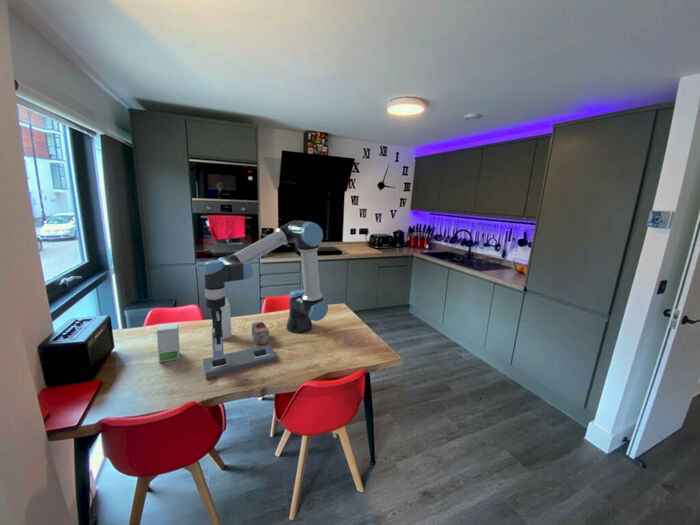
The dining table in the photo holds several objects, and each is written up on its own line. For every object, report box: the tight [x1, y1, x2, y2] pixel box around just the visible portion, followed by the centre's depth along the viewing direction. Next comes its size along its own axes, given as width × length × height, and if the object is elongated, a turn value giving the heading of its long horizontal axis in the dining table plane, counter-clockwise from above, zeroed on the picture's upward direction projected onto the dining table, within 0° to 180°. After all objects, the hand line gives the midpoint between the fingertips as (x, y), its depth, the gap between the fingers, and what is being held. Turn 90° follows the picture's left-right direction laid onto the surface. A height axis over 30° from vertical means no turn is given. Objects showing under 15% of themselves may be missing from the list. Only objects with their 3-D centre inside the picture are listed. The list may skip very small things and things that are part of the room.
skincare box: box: [156, 322, 181, 363], centre depth 133 cm, size 8×7×16 cm
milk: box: [221, 297, 232, 340], centre depth 154 cm, size 6×6×22 cm
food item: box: [251, 321, 270, 346], centre depth 153 cm, size 14×8×10 cm, turn 32°
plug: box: [210, 328, 225, 358], centre depth 125 cm, size 4×4×13 cm
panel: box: [202, 344, 278, 380], centre depth 132 cm, size 30×12×3 cm, turn 121°
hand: (217, 347), depth 125 cm, fingers closed on plug, 4 cm apart
